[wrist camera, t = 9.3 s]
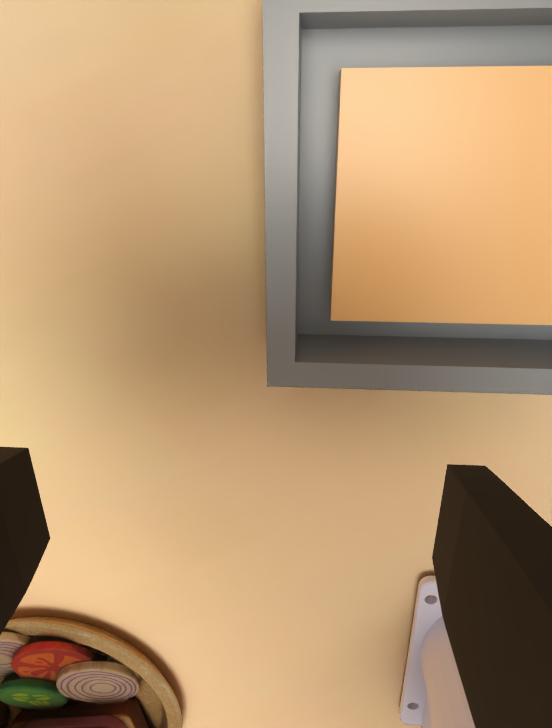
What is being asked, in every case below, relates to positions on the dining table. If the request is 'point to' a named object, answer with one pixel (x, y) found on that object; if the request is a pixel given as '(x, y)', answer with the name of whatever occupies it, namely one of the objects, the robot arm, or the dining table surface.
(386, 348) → the box
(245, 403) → the dining table surface
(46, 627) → the toy sandwich meal
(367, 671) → the dining table surface
